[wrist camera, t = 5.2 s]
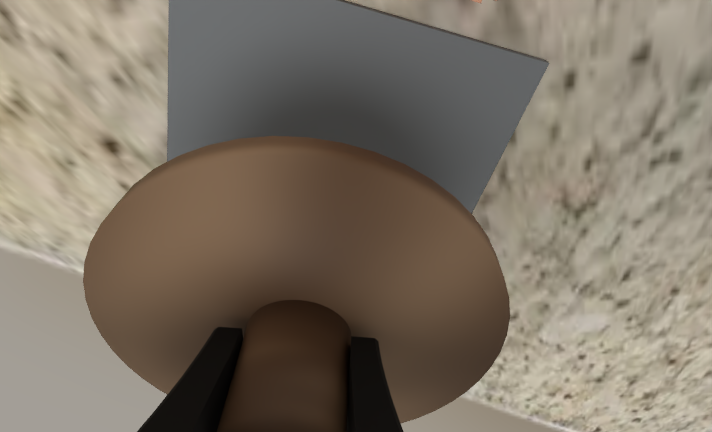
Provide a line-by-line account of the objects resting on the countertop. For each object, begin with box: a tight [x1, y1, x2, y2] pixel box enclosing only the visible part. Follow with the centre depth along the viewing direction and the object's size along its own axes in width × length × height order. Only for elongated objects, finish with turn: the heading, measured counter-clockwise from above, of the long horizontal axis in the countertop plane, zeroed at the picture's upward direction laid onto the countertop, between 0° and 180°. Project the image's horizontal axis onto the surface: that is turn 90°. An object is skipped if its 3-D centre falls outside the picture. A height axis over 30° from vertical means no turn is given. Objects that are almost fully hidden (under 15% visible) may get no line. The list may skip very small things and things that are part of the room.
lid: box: [83, 136, 510, 432], centre depth 11 cm, size 11×11×4 cm
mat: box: [167, 0, 549, 214], centre depth 19 cm, size 14×14×1 cm
